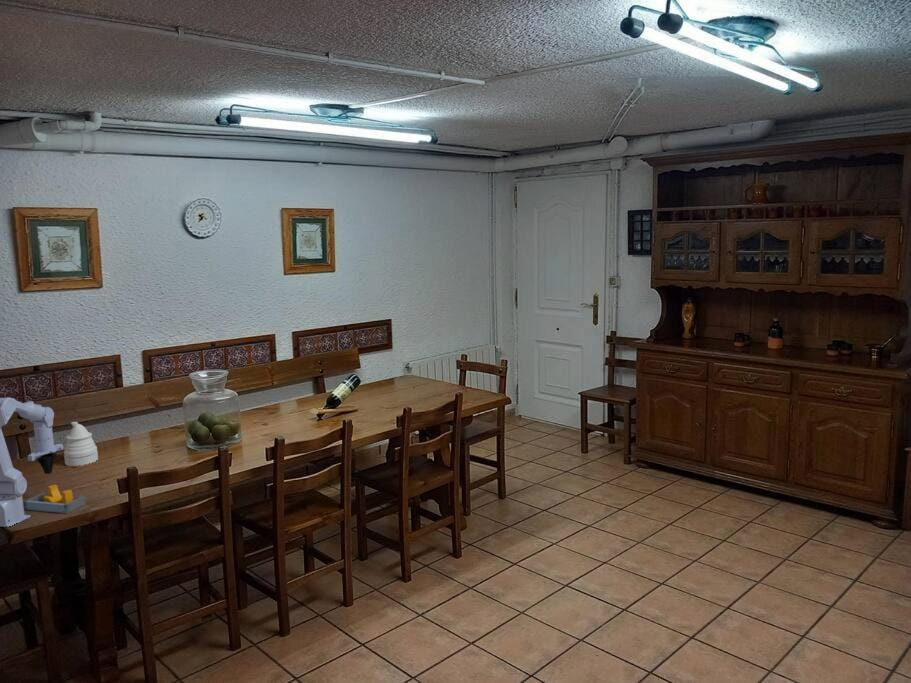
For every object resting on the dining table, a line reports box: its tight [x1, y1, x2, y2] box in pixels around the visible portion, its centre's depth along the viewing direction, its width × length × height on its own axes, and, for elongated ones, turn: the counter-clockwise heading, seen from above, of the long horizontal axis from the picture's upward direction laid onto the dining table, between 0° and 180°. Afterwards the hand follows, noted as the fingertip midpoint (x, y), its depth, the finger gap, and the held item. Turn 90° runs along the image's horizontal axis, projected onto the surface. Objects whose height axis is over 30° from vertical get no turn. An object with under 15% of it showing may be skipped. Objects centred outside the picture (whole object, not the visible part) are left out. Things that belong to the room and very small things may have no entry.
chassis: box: [23, 492, 86, 514], centre depth 255 cm, size 9×18×3 cm, turn 77°
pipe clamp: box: [44, 484, 74, 504], centre depth 256 cm, size 12×4×6 cm, turn 57°
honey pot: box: [63, 421, 99, 467], centre depth 305 cm, size 13×13×18 cm
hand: (48, 473), depth 264 cm, fingers closed
